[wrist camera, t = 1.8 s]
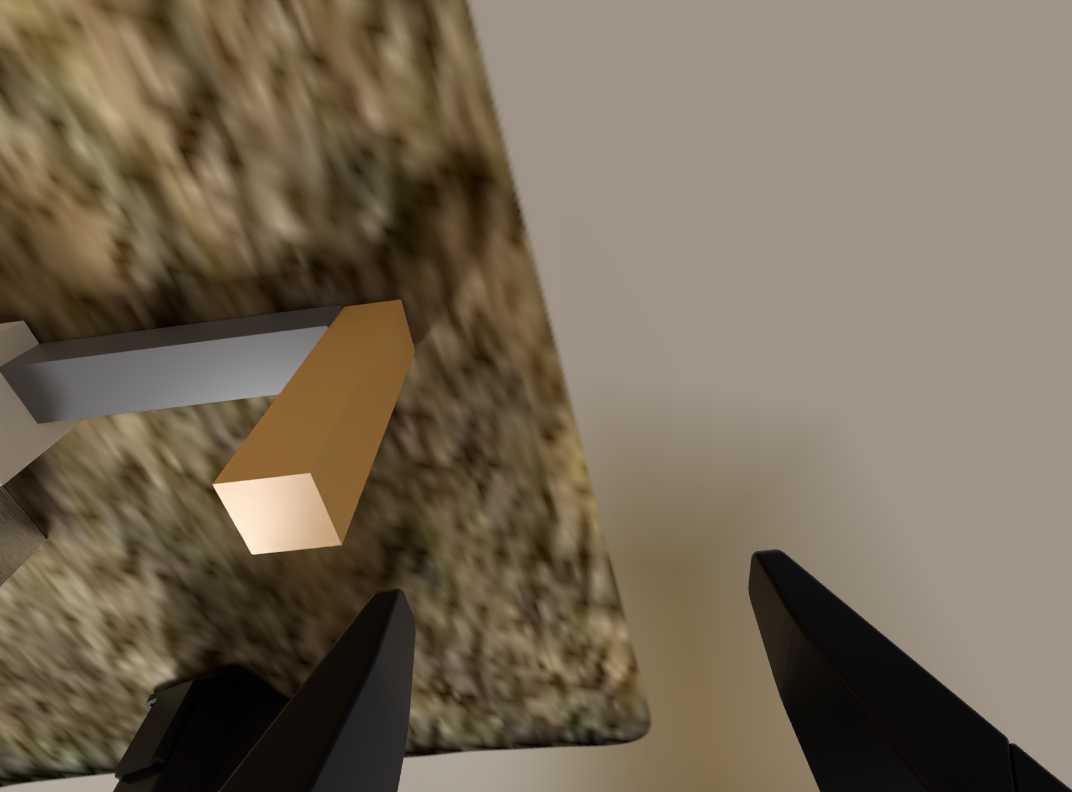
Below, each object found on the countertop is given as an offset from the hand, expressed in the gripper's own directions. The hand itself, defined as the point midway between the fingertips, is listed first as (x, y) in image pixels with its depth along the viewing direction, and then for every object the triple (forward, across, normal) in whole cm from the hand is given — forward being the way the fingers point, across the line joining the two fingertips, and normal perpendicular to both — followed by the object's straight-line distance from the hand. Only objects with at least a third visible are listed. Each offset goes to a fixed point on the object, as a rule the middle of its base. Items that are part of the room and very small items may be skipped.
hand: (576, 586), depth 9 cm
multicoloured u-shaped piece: (+12, +14, 0) cm, 18 cm away
